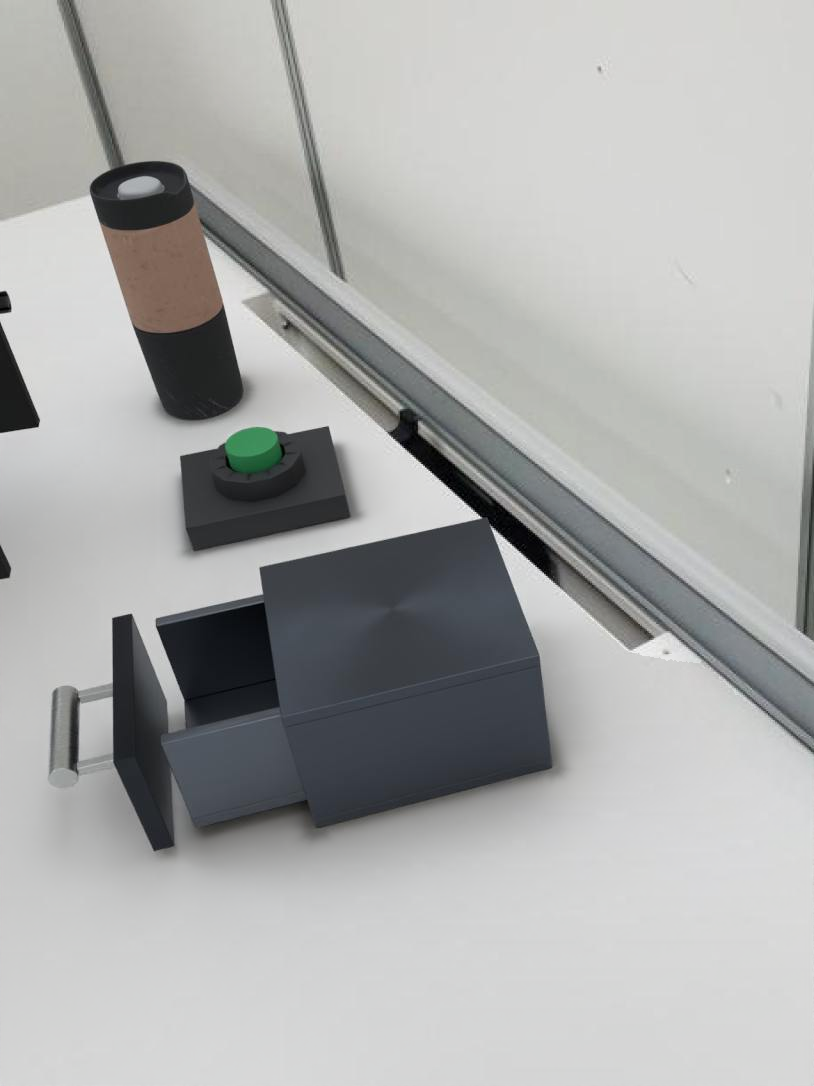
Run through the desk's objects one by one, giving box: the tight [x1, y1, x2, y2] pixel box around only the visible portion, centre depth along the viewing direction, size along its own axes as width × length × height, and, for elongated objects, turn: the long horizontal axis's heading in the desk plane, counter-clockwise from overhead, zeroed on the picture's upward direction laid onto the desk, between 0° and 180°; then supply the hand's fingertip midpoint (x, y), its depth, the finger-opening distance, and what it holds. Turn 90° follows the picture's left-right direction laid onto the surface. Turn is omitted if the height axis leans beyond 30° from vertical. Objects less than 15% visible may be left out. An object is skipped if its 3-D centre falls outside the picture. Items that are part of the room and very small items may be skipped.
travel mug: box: [89, 160, 244, 421], centre depth 106 cm, size 8×8×20 cm
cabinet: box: [258, 517, 553, 829], centre depth 79 cm, size 15×14×10 cm
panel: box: [179, 425, 351, 551], centre depth 100 cm, size 12×10×4 cm
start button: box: [225, 426, 282, 473], centre depth 98 cm, size 4×4×2 cm
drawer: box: [47, 593, 307, 852], centre depth 77 cm, size 18×12×8 cm
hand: (0, 497), depth 68 cm, fingers open, 13 cm apart
